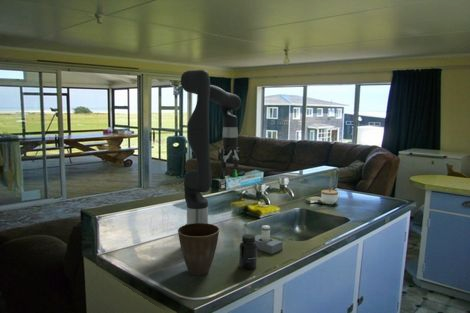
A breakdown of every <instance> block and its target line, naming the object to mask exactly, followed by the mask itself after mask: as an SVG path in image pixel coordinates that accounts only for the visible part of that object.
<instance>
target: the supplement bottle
mask: <svg viewBox="0 0 470 313" xmlns="http://www.w3.org/2000/svg"><path fill="white" fill-rule="evenodd" d="M255 236H256V235H254V234H251V233H250V234H248V233H247V234H242V237H241V238H242V239H241V241H242V242H240V244H239V248H238V249H239V250H238V251H239V253H238V266H239V268H240V269H242V270H246V271H251V270H255V269H256V268H257V266H258V249H257V244H256V243H255Z"/></svg>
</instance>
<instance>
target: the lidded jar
mask: <svg viewBox="0 0 470 313" xmlns="http://www.w3.org/2000/svg"><path fill="white" fill-rule="evenodd" d="M320 193H321V194H320V196H321V200H322V202H323V203H324V202H325V203H324V204H326V205H334V204H335V203H336V202H337V200H338V198H339V191H337V190H335V189H333V190H332V188H328V189H322V190H321V192H320Z"/></svg>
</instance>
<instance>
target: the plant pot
mask: <svg viewBox="0 0 470 313" xmlns="http://www.w3.org/2000/svg"><path fill="white" fill-rule="evenodd" d="M186 224H187V223H186ZM177 233H178V239H179V246H180V248H181V249H180V251H181V252H182V257H183V260H184V262H185V266H186V267H187V271H188V273H189V274H191V275H193V276H204V275H206V274H208V273H209V271H210V269H211V265H212V264H213V260H214V257H215V253H216V250H217V245H218V240H219V233H220V228H219V227H218V225H215V224H212V223H208V224H207V223H193V224H187V225H185V224H184V225H182V226H180V227H178V229H177Z"/></svg>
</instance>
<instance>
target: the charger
mask: <svg viewBox="0 0 470 313" xmlns="http://www.w3.org/2000/svg"><path fill="white" fill-rule="evenodd" d="M261 235H262V242H265V243H267V242H270V238H271V236H270V235H271V226H270V225H268V224H267V225H266V224H265V225H264V224H263V225H261Z"/></svg>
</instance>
